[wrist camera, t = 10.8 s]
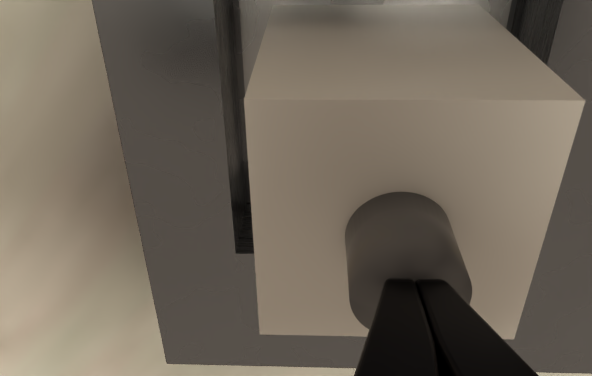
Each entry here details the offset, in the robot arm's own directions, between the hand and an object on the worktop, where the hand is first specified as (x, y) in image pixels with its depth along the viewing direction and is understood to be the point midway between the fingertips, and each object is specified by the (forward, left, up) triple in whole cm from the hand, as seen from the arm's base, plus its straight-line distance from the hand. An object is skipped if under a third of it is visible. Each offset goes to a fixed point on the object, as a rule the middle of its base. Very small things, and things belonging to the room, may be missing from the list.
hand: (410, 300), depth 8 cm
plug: (0, 0, -8) cm, 8 cm away
